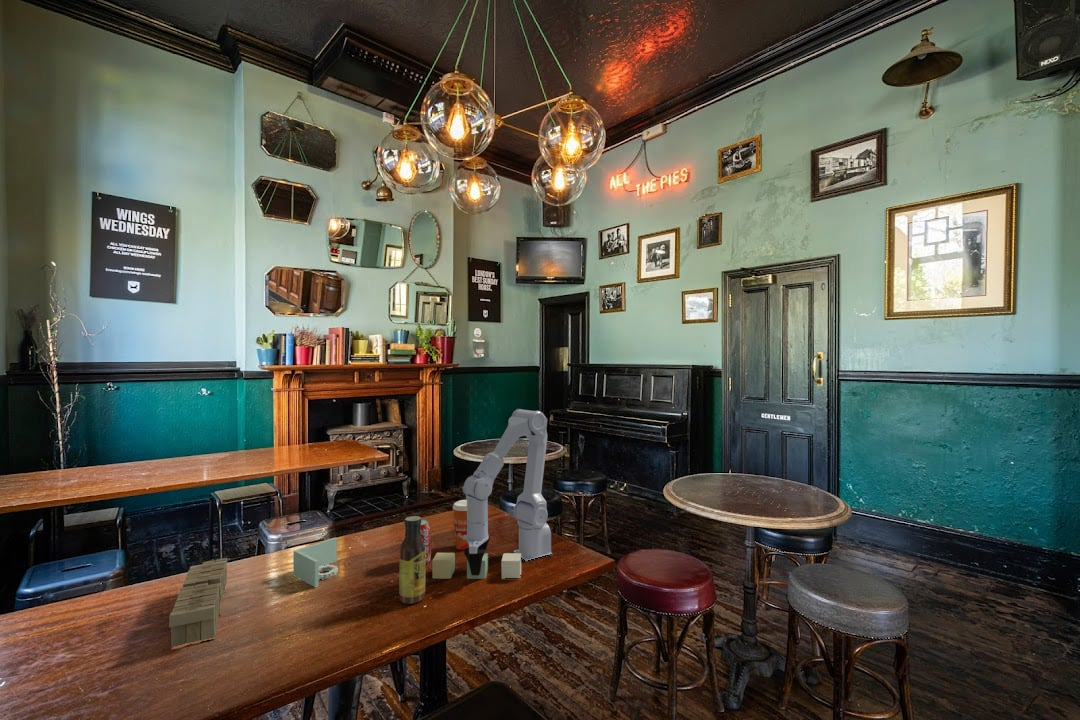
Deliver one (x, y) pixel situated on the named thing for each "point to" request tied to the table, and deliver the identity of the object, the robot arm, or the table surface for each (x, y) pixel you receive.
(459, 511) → the paper cup
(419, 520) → the sauce bottle
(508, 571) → the cream block
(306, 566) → the right angle wall
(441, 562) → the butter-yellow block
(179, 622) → the block tower
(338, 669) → the table surface
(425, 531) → the soda can
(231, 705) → the table surface
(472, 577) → the sage green block
